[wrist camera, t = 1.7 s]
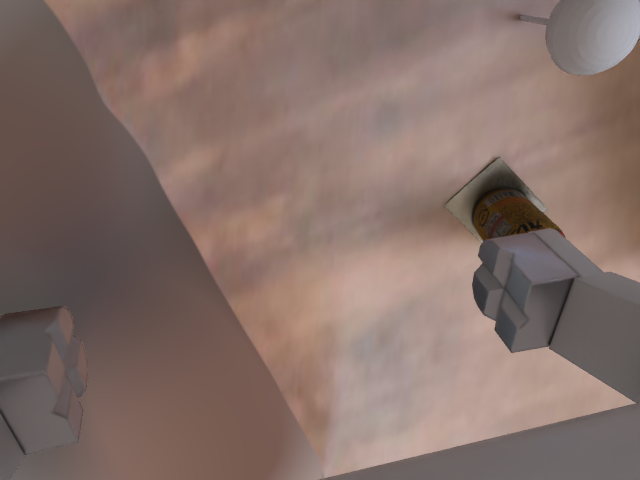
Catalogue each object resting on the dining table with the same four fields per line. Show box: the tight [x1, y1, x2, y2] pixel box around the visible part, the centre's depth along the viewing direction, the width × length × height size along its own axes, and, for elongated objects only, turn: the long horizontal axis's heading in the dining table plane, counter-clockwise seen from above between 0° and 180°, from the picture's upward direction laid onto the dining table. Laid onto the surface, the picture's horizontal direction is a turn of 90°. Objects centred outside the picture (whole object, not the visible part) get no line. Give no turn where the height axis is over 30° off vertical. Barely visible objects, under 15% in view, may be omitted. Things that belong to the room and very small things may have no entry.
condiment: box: [444, 157, 566, 243], centre depth 49 cm, size 7×8×12 cm
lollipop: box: [520, 0, 640, 75], centre depth 40 cm, size 6×6×15 cm
